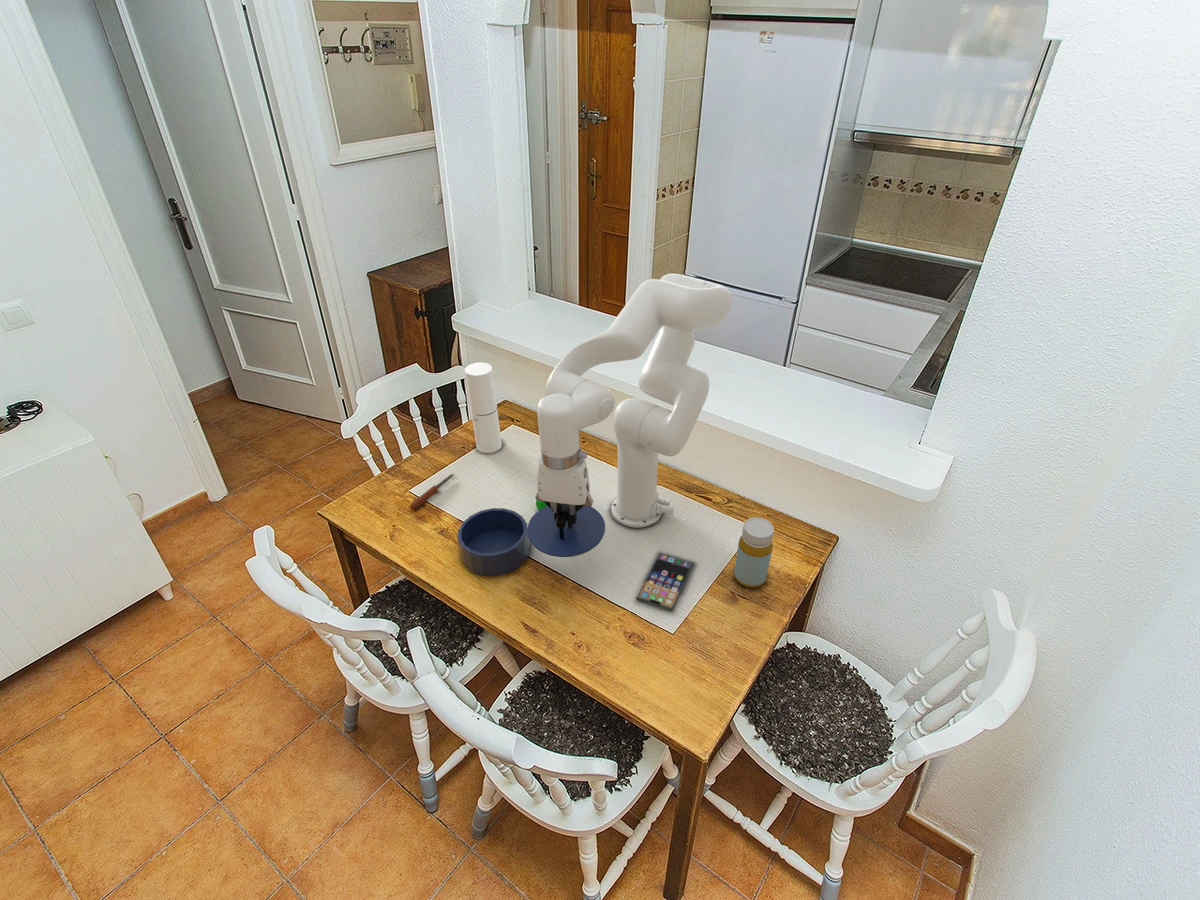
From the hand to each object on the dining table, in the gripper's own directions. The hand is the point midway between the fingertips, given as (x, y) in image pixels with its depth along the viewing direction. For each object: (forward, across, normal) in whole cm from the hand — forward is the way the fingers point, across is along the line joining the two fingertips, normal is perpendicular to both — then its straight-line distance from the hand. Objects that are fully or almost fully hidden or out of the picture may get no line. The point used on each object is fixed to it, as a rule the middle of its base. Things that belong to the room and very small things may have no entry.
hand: (565, 523), depth 134 cm
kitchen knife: (+14, +41, -19) cm, 48 cm away
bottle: (+15, -40, -5) cm, 43 cm away
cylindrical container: (+15, +34, -42) cm, 57 cm away
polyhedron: (+15, +10, -18) cm, 26 cm away
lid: (+2, 0, 0) cm, 2 cm away
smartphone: (+15, -22, 0) cm, 26 cm away
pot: (+14, +18, -2) cm, 23 cm away
